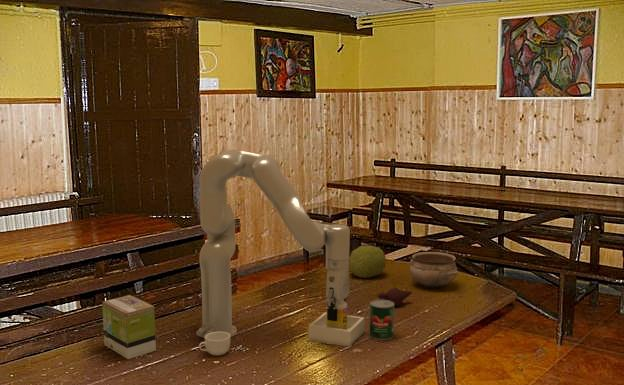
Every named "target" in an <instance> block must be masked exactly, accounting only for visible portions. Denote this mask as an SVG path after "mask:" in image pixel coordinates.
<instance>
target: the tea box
mask: <svg viewBox="0 0 624 385" xmlns="http://www.w3.org/2000/svg"><path fill="white" fill-rule="evenodd" d="M101 303H102V304H101V305H102V309H101V310H102V322H103V324H102V326H103V339H104V340H103V342H104V346H105V347H107V348H108V349H111V350H112V351H114V352H116V353H117V354H119V355H120V356H122V357H123V358H125V359H127V360H131V359H134V358H137V357H140V356H143V355H147V354H149V353H153V352H156V350H157V346H156V345H157V342H156V320H155V319H156V318H155V316H156V315H155V314H156V313H155V306H154V305H152V304H150V303H148V302H147V301H144V300H141V299H139V298H137V297H135V296H133V295H131V294H127V295H124V296H120V297H117V298H112V299H109V300H104V301H102V302H101Z"/></svg>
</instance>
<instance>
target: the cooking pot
mask: <svg viewBox="0 0 624 385" xmlns="http://www.w3.org/2000/svg"><path fill="white" fill-rule="evenodd" d="M411 257H412V258H411V259H410V266H409V272H410V274H411V277H412V279H414V280H415V281H416V282H417V283H418V284H420V285H422V286H424V287H425V288H427V289H433V288H436V289H440V287H441V288H442V287H444V286H446V285H448V284H450V283H452V282H453V281H454V280H455V279H456V277H457V275H458V274H459V271H458V268H457V264H456V261H455V260H456V259H457V258H456V256H455V255H453V254H450V253H445V252H437V251H422V252H417V253H414V254H412V255H411Z"/></svg>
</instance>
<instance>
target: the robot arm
mask: <svg viewBox="0 0 624 385" xmlns="http://www.w3.org/2000/svg"><path fill="white" fill-rule="evenodd" d="M280 169H281V168H280V164H279V162H278V160H277V159H276V158H275V157H273V156H270V155H266V154H260V153H255V152H250V151H244V150H239V149H228V150H226V151H224V152H221V153H219V154H217V155H216V156H214V157H212V158H210V159H209V160H208V161H207V162H205V164H204V165H203V167H202V170H200V175H199V183H198V185H199V212H200V215H199V221H200V226H201V229H202V230H203V232H204V233H206V235H207V236H206V238H207V241H206V242H205V243H204V244H203V245H202V247H201V249H200V251H199V258H198V259H199V268H200V278H201V281H200V282H201V304H202V306H201V308H202V309H201V310H202V311H201V312H202V313H201V314H202V323H201V327H199V329H198V330H197V331H196V332H195V335H196V336H197V337H200V338H202V339H205V335H206V334H208V333H211V332H218V331H222V332H227V333H229V334H230V338H231V337H234V336H235V335H237V332H238V329H237V327H236V326H235V325H233V318H232V317H233V314H232V312H233V310H232V309H233V307H232V305H233V304H232V300H233V298H232V274H231V273H232V272H231V260H232V259H231V258H232V257H233V255H234V254H235V251H236V244H237V242H236V224H235V223H236V222H235V214H234V210H233V208H232V207H231V206H230V205H229V204H228V202H227V201H228V200H227V198H228V196H227V195H228V194H227V187H226V186H227V182H228V180H231V179H232V178H235V177H236V176H237V177H243V178H248V179H253V181H254V182H255V184H256V185H257V186H258V188H259V189H260V191H262V193H263V194H264V195H265V197H266V198H267V199H268V200H269V202H270V203H271V204H272V205H273V208H275V210H276V212H277V214H278V215H279V217H280V218H281V220H282V221H283V223H284V225H285V226H286V228H287V229H288V230H289V232H290V233H291V235H292V236H293V238H294V239H295V240H296V241H297V242H298V243H299V245H300V246H301V247H302V248H303V249H305V250H306V251H307V252H310V253H316V252H318V251H320V250H321V249H323V247H324V246H325V269H326V271H327V272H326V284H325V297H326V299H325V301H326V312H327V319H328V320H330V321H337V309H336V307H337V302H338V301H341V300H343V299H344V301H345V302H346V303H347V300H348V298H347V297H348V296H349V295H350V292H351V287H350V283H351V282H350V281H351V280H350V270H349V269H350V263H349V258H350V245H351V244H350V240H351V239H350V236H351V235H350V234H351V233H350V232H351V230H350V228H349V226H348V225H346V224H340V223H339V224H338V223H337V224H335V223H334V224H333V223H332V224H329V223H327V224H325V223H320V222H313V221H312V219H311V218H310V216H309V215H308V213H307V212H306V209H304V206H303V204H302V200H301V198H300V195H299V193H298V192H297V190H296V189H295V188H294V186H293V185H292V183H291V182H289V180H288V179H287V177H286V176H285V175H284V173H283V172H282V171H281V170H280ZM332 297H333V298H336V299H332ZM332 301H334V302H335V303H334V304H333V302H332Z"/></svg>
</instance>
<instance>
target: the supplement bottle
mask: <svg viewBox="0 0 624 385" xmlns="http://www.w3.org/2000/svg"><path fill="white" fill-rule="evenodd" d="M332 299H336V298H333V297H332ZM332 302H333V304H334V303H335V302H334V301H332ZM336 309H337V321H330V320H328V319H327V327H330V328H337V329H344V330H347V315H348V303H347V301H346V302H345V301H344V299H343V300H341V301H338V302H337V307H336Z"/></svg>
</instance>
